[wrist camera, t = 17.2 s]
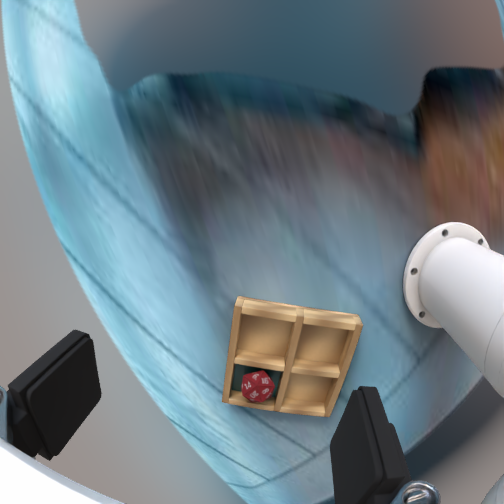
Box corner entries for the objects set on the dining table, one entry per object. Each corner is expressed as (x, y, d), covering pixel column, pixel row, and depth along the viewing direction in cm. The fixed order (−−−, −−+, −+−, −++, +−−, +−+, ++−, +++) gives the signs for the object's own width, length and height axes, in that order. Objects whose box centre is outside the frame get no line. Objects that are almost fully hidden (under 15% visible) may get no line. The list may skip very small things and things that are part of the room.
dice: (256, 357, 34) (253, 377, 31) (283, 379, 35) (282, 400, 31) (234, 373, 35) (229, 394, 32) (261, 394, 36) (258, 415, 32)
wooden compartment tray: (358, 314, 33) (363, 325, 30) (327, 404, 36) (329, 417, 34) (238, 295, 34) (234, 305, 31) (225, 389, 37) (221, 402, 35)
